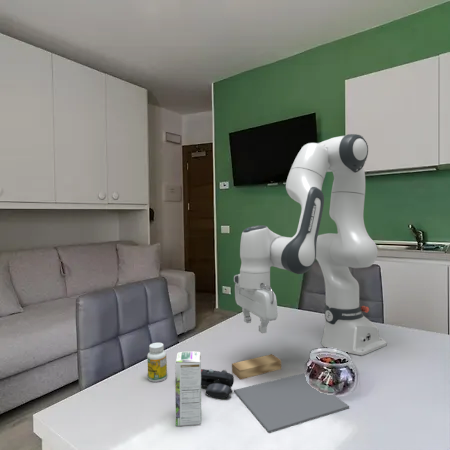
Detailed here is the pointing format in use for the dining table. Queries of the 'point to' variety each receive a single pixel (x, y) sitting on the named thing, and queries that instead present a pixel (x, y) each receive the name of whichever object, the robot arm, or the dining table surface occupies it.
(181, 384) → the syrup box
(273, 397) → the rubber mat
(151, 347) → the supplement bottle
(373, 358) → the dining table surface
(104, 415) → the dining table surface
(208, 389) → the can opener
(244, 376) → the wooden rectangular block
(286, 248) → the robot arm
